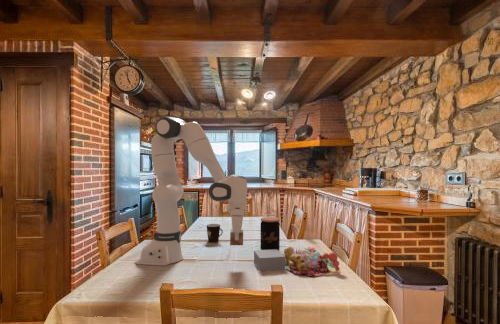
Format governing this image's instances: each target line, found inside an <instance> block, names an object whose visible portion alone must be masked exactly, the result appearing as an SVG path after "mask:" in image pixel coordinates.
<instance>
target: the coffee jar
mask: <svg viewBox="0 0 500 324" xmlns="http://www.w3.org/2000/svg"><path fill="white" fill-rule="evenodd" d="M280 220H281V219H280V218H279V217H275V216H265V217H261V218H260V250H271V249H278V250H279V251H280V245H281V244H280V241H281V240H280V239H281V238H280V232H281V231H280V226H281V225H280V224H281V223H280Z"/></svg>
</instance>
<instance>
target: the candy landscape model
mask: <svg viewBox="0 0 500 324" xmlns="http://www.w3.org/2000/svg"><path fill="white" fill-rule="evenodd" d="M283 255H284V256H285V270H288V271H289V272H290V271H291V272H292V273H293V274H294V275H295V274H297V275H300V276H301V277H302V276H303V275H307V277H309V278H310V277H320V276H326V277H328V276H329V277H332V276H336V275H339V274H340V273H341V270H340V269H341V268H340V262H339V260H338V255H337V253H336V252H334V251H332V252H329V253H327V252H325V253H324V252H323V254H320V252H319V251H318V250H317V249H315V248H314V247H313V246H307V247H304V248H303V249H300V248H296V249H295V247H293V246H288V247H287V248H285V249H283Z"/></svg>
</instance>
